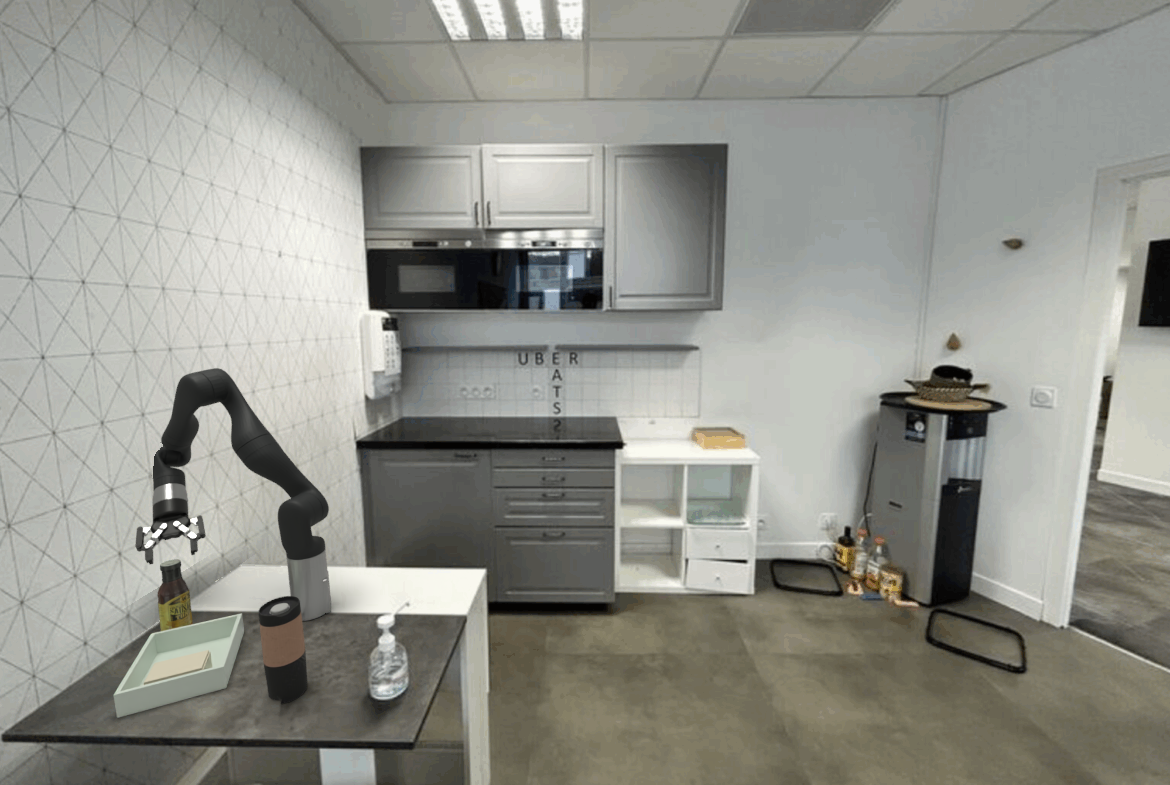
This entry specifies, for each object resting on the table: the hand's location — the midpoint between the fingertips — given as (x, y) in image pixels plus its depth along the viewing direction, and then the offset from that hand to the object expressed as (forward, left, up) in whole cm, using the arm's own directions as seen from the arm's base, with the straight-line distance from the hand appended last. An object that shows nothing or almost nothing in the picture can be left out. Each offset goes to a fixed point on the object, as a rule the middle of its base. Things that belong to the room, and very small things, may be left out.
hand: (172, 558), depth 130 cm
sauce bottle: (-1, +8, -18) cm, 20 cm away
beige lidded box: (-7, +32, -17) cm, 37 cm away
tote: (-7, +26, -18) cm, 32 cm away
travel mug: (-28, +43, -18) cm, 55 cm away
